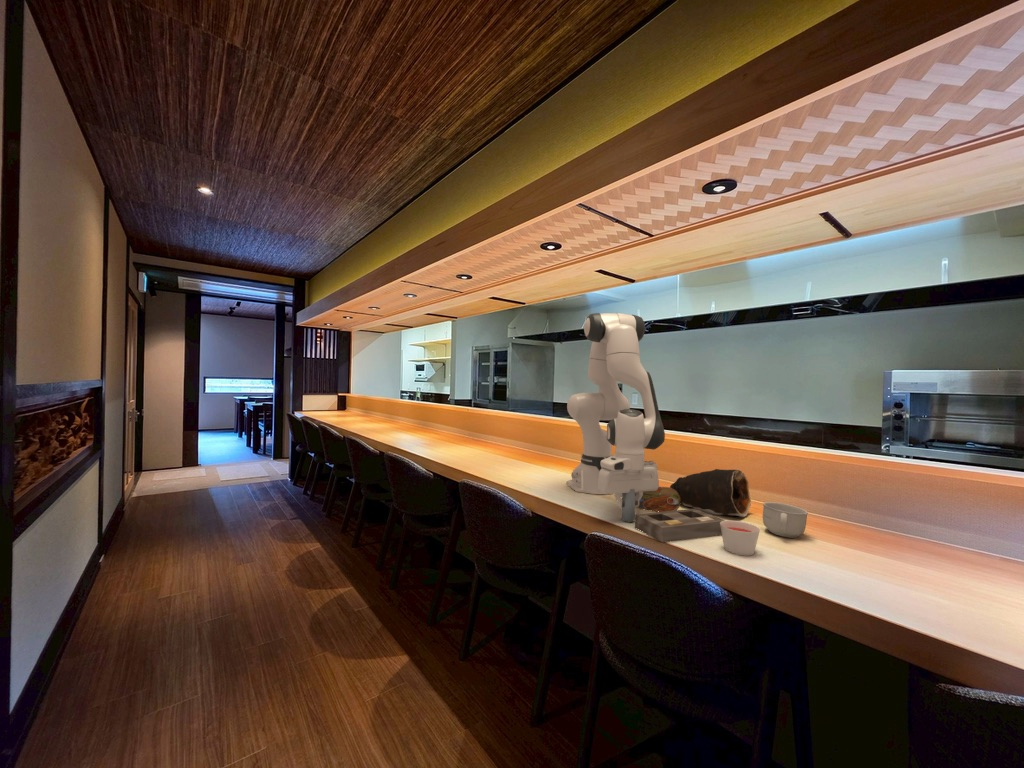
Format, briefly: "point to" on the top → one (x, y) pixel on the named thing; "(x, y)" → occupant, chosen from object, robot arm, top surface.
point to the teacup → (784, 519)
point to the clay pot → (715, 492)
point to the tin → (660, 500)
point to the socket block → (678, 525)
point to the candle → (739, 537)
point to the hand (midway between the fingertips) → (628, 506)
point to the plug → (628, 506)
